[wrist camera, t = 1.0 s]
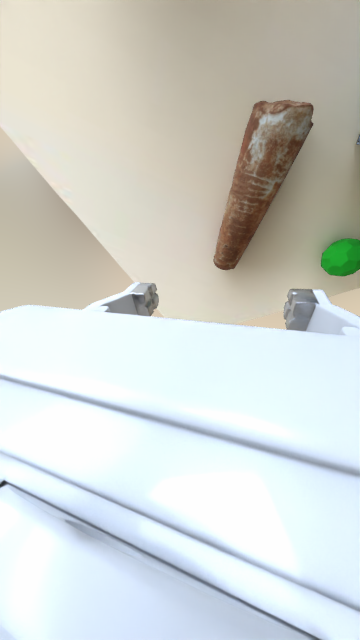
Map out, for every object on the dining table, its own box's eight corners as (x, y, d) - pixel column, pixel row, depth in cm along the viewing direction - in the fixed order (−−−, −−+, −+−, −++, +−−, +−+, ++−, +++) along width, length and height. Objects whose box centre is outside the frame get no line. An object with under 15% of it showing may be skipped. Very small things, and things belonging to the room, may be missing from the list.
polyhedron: (320, 237, 27) (329, 250, 24) (364, 230, 25) (381, 242, 22) (314, 269, 30) (322, 284, 27) (353, 264, 28) (367, 280, 25)
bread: (313, 114, 20) (328, 106, 16) (236, 267, 34) (234, 283, 30) (257, 97, 20) (259, 85, 16) (203, 256, 34) (197, 270, 30)
